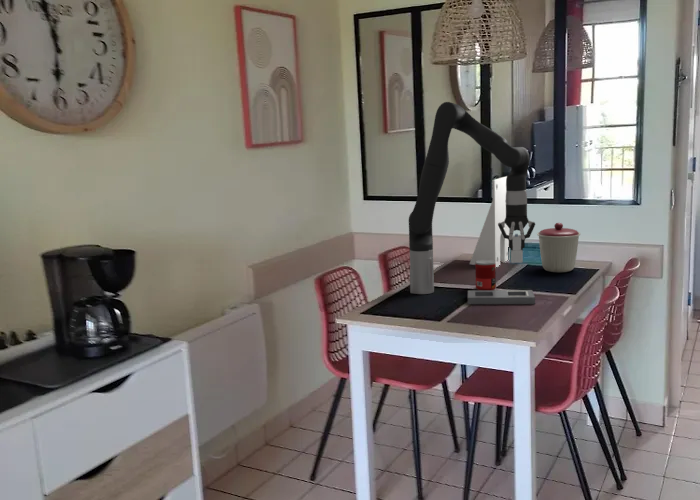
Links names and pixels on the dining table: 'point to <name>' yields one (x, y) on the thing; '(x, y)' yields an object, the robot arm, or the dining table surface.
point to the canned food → (485, 274)
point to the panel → (501, 297)
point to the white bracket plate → (494, 228)
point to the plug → (516, 250)
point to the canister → (558, 248)
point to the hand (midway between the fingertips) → (516, 249)
